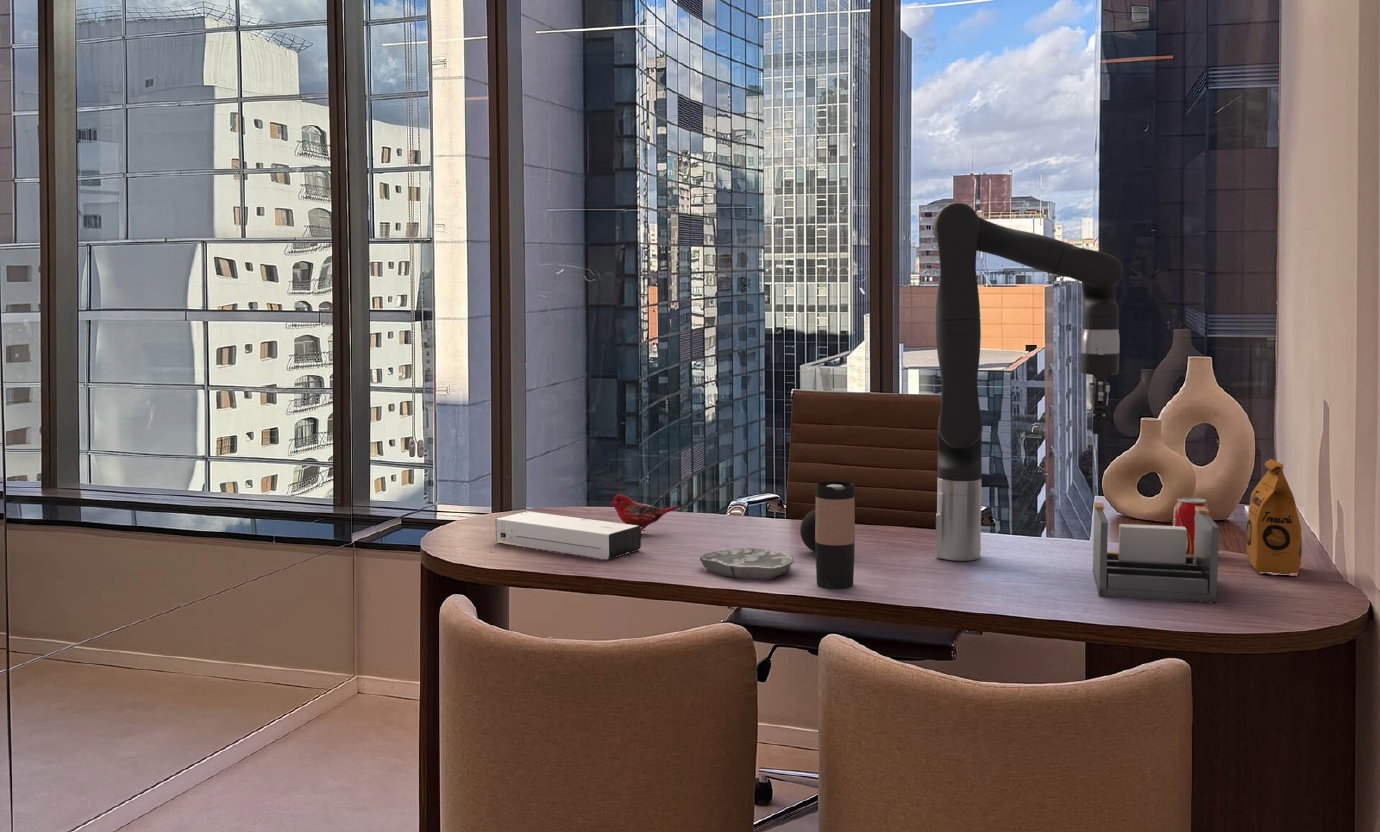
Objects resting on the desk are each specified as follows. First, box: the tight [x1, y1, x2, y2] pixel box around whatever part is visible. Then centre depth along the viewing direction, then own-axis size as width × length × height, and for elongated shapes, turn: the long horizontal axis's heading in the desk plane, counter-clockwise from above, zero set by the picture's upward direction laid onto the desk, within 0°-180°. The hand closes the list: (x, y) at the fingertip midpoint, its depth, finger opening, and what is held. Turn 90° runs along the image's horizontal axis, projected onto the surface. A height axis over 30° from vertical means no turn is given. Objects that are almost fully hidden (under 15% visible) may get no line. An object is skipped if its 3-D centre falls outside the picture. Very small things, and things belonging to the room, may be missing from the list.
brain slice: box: [699, 547, 795, 580], centre depth 233 cm, size 20×17×3 cm
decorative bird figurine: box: [609, 493, 681, 531], centre depth 270 cm, size 3×18×10 cm, turn 106°
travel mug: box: [815, 480, 856, 590], centre depth 219 cm, size 8×8×20 cm
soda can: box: [1172, 496, 1210, 558], centre depth 241 cm, size 7×7×12 cm
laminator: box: [495, 510, 642, 560], centre depth 256 cm, size 34×12×6 cm, turn 56°
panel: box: [1118, 523, 1187, 564], centre depth 220 cm, size 12×3×9 cm, turn 74°
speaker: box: [799, 508, 816, 553], centre depth 247 cm, size 10×10×10 cm
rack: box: [1092, 502, 1220, 603], centre depth 215 cm, size 21×20×14 cm
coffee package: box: [1245, 458, 1303, 574], centre depth 226 cm, size 10×12×22 cm
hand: (1097, 433), depth 235 cm, fingers closed
